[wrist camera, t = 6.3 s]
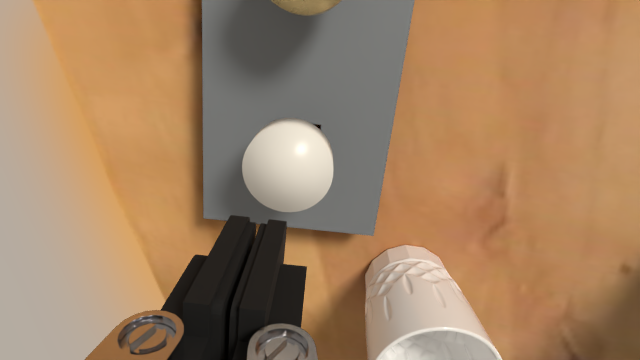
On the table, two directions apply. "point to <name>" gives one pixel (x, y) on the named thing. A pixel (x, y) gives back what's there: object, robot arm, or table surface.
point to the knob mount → (302, 100)
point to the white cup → (420, 311)
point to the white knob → (288, 165)
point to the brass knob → (306, 6)
